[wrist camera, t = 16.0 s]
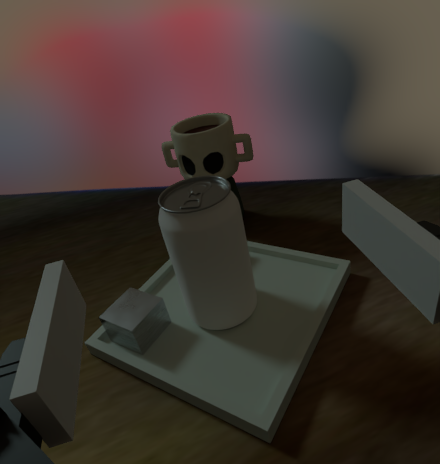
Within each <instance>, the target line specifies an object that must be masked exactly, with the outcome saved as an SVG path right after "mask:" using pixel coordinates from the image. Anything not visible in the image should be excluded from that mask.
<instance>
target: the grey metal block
mask: <svg viewBox="0 0 440 464" xmlns="http://www.w3.org/2000/svg"><path fill="white" fill-rule="evenodd" d="M99 319H100V321H101V323H102V325H103V327H104V329H105V331H106V333H107V334H108V336H109V338H110V340H111V341H112V342H115V343H117V344H119V345H121V346H123V347H126V348H128V349H130V350H132V351H134V352H137V353H139V354H141V355H144V354H145V352H146V351H147V350H148V349H149V348H150V347H151V345H152V344H153V343H154V342H155V341H156V339H157V338H158V337H159V336H160V335H161V334H162V332H163V331H164V330H165V329H166V328H167V327H168V325H169V324H170V323H171V319H170V316H169V314H168V311H167V308H166V306H165V303H164V300H163V298H161V297H158V296H155V295H152V294H149V293H146V292H143V291H140V290H137V289H134V288H131V287H130V288H129V289H128V290H127V291H126V292H125V293H124V294H123V295H122V296H121V297H120V298H119V299H117V300H116V301H115V302H114V303H113V304H112V305H111V306H110V307H109V308H108V309H107V310H106V311H105V312H104V313H103V314H102V315H101V316H100V317H99Z"/></svg>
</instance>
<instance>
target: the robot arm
mask: <svg viewBox="0 0 440 464" xmlns="http://www.w3.org/2000/svg"><path fill="white" fill-rule="evenodd" d="M342 232H343V233H344V234H345V235H346V236H347V237H348V238H349V239H350V240H351V241H352V242H353V243H354V244H355V245H356V246H357V247H358V248H359V249H360V250H361V251H362V252H363V253H364V254H365V255H366V256H367V257H368V258H369V259H370V260H371V261H372V263H373V264H374V265H375V266H376V267H377V268H378V269H379V270H380V271H381V272H382V273H383V274H384V275H385V276H386V277H387V278H388V279H389V280H390V281H391V282H392V283H393V284H394V285H395V286H396V287H397V288H398V289H399V290H400V291H401V292H402V293H403V294H404V295H405V296H406V297H407V298H408V299H409V300H410V301H411V302H412V303H413V304H414V305H415V306H416V307H417V308H418V309H419V310H420V311H421V313H422V314H423V315H424V316H425V317H426V318H427V319H428V320H429V321H430V322H431V323H432V324H435V323H438V322H440V227H439V226H438V225H435V224H432V223H429V222H427V221H421V222H417V223H416V222H415V221H413V220H412V219H411V218H409V217H408V216H407V215H405V214H404V213H403V212H401V211H400V210H398V209H397V208H396V207H394V206H393V205H392V204H390V203H389V202H388V201H386V200H385V199H384V198H382V197H381V196H380V195H378V194H377V193H375V192H374V191H373V190H371V189H370V188H369V187H367V186H366V185H365V184H363V183H362V182H361V181H359V180H358V179H357V180H353V181H350V182H346V183H343V188H342ZM85 314H86V303H85V301H84V299H83V297H82V296H81V294H80V292H79V290H78V288H77V286H76V284H75V282H74V280H73V278H72V276H71V274H70V272H69V270H68V268H67V266H66V264H65V262H64V260H61V261H58V262H54V263H50V264H47V265H45V269H44V272H43V276H42V280H41V283H40V287H39V291H38V295H37V298H36V302H35V306H34V309H33V313H32V317H31V321H30V324H29V328H28V332H27V335H26V338H23V339H19V340H16V341H12V342H11V343H10V345H9V346H8V347H7V349H6V350H5V352H4V353H3V354H2V357H1V360H0V464H54V463H53V462H52V461H51V460H50V459H49V458H48V457H47V456H46V455H45V454H44V452H43V451H42V450H41V443H42V440H43V441H44V442H45V443H46V444H47V446H48V447H49V448H51V447H54V446H57V445H60V444H63V443H67V442H70V441H73V435H74V425H75V415H76V405H77V395H78V385H79V374H80V364H81V354H82V344H83V334H84V324H85Z"/></svg>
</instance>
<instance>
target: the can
mask: <svg viewBox="0 0 440 464" xmlns="http://www.w3.org/2000/svg"><path fill="white" fill-rule="evenodd" d="M158 204H159V206H160V212H159V225H160V228H161V231H162V235H163V238H164V241H165V244H166V247H167V250H168V253H169V256H170V259H171V262H172V265H173V268H174V271H175V274H176V277H177V280H178V283H179V286H180V289H181V292H182V295H183V298H184V301H185V304H186V307H187V310H188V313H189V315H190V317H191V319H192V320H193V322H194V323H196V324H197V325H199V326H200V327H203V328H206V329H209V330H217V331H219V330H227V329H231V328H234V327H236V326H238V325H240V324H242V323H243V322H244V321H245V320H247V319H248V318H249V317H250V316H251V314H252V313H253V312H254V310H255V308H256V305H257V294H256V288H255V283H254V277H253V271H252V266H251V261H250V255H249V250H248V244H247V239H246V234H245V229H244V223H243V218H242V213H241V208H240V204H239V201H238V199H237V197H236V196H235V194H234V193H233V192H232V191H231V185H230V183H229V181H227V180H226V179H224V178H222V177H218V176H197V177H192V178H188V179H185V180H182V181H179V182H177V183H175V184H173V185H171V186H170V187H168V188H167V189H165V190H164V191H163V192H162V193H161V195H160V196H159V198H158Z"/></svg>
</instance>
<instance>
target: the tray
mask: <svg viewBox="0 0 440 464" xmlns="http://www.w3.org/2000/svg"><path fill="white" fill-rule="evenodd" d="M247 244H248V250H249V255H250V261H251V266H252V271H253V277H254V283H255V288H256V294H257V305H256V308H255V310H254V312H253V313H252V314H251V316H250V317H249V318H248V319H247V320H245V321H244V322H243V323H242V324H240V325H238V326H236V327H234V328H231V329H227V330H219V331H217V330H209V329H206V328H203V327H200V326H199V325H197V324H196V323H194V322H193V320H192V319H191V317H190V315H189V313H188V310H187V307H186V304H185V301H184V298H183V295H182V292H181V289H180V286H179V283H178V280H177V277H176V274H175V271H174V268H173V265H172V262H171V259H169V260H168V261H167V262H166V263H165V264H164V265H163V266H162V267H161V268H160V269H159V270H158V271H157V272H156V273H155V274H154V275H153V276H152V277H151V278H150V279H149V280H148V281H147V282H146V283H145V284H144V285H143V286H142V287H141V288H140V289H139V290H140V291H143V292H146V293H149V294H152V295H155V296H158V297H161V298H163V300H164V303H165V306H166V308H167V311H168V314H169V316H170V319H171V323H170V324H169V325H168V327H167V328H166V329H165V330H164V331H163V332H162V334H161V335H160V336H159V337H158V338H157V339H156V341H155V342H154V343H153V344H152V345H151V347H150V348H149V349H148V350H147V351H146V352H145V354H144V355H141V354H139V353H137V352H134V351H132V350H130V349H128V348H126V347H123V346H121V345H119V344H117V343H115V342H112V341H111V340H110V338H109V336H108V334H107V333H106V331H105V329H104V327H103V325H102V326H101V327H100V328H99V329H98V330H97V331H96V332H95V333H94V334H93V335H92V336H91V337H90V338H89V339H88V340H87V341H86V342H85V345H86V346H87V348H88V350H89V351H90V353H91V354H92V355H94V356H96V357H98V358H100V359H102V360H104V361H106V362H108V363H110V364H112V365H114V366H116V367H118V368H120V369H122V370H124V371H126V372H128V373H130V374H132V375H134V376H136V377H138V378H140V379H142V380H144V381H146V382H148V383H150V384H152V385H154V386H156V387H158V388H160V389H162V390H164V391H166V392H168V393H170V394H172V395H174V396H176V397H178V398H180V399H182V400H184V401H186V402H188V403H190V404H192V405H194V406H196V407H198V408H200V409H202V410H204V411H206V412H208V413H210V414H212V415H214V416H216V417H218V418H220V419H222V420H224V421H226V422H228V423H230V424H232V425H234V426H236V427H238V428H240V429H242V430H244V431H246V432H248V433H250V434H252V435H254V436H256V437H258V438H260V439H262V440H264V441H266V442H268V443H271V441H272V439H273V437H274V435H275V433H276V431H277V429H278V426H279V424H280V422H281V420H282V418H283V416H284V414H285V411H286V409H287V407H288V405H289V403H290V401H291V399H292V397H293V394H294V392H295V390H296V388H297V386H298V384H299V382H300V379H301V377H302V375H303V373H304V371H305V369H306V367H307V365H308V362H309V360H310V358H311V356H312V354H313V352H314V350H315V347H316V345H317V343H318V341H319V339H320V337H321V335H322V333H323V330H324V328H325V326H326V324H327V322H328V320H329V318H330V315H331V313H332V311H333V309H334V307H335V305H336V303H337V301H338V298H339V296H340V294H341V292H342V290H343V288H344V286H345V283H346V281H347V279H348V277H349V275H350V261H348V260H343V259H338V258H333V257H327V256H322V255H317V254H312V253H307V252H301V251H296V250H291V249H286V248H281V247H276V246H270V245H265V244H260V243H255V242H250V241H247Z"/></svg>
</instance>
